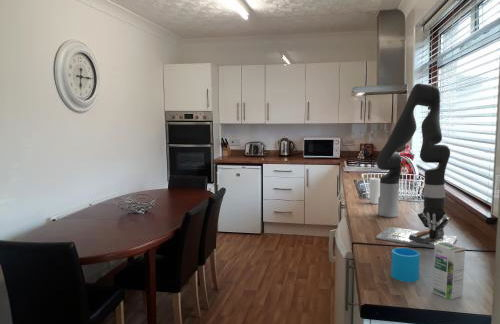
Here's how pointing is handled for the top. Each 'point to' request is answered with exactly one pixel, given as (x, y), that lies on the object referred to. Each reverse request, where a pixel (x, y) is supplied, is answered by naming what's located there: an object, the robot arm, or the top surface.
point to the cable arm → (424, 236)
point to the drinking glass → (374, 190)
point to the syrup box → (448, 270)
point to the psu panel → (403, 237)
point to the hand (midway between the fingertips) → (433, 238)
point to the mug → (405, 264)
